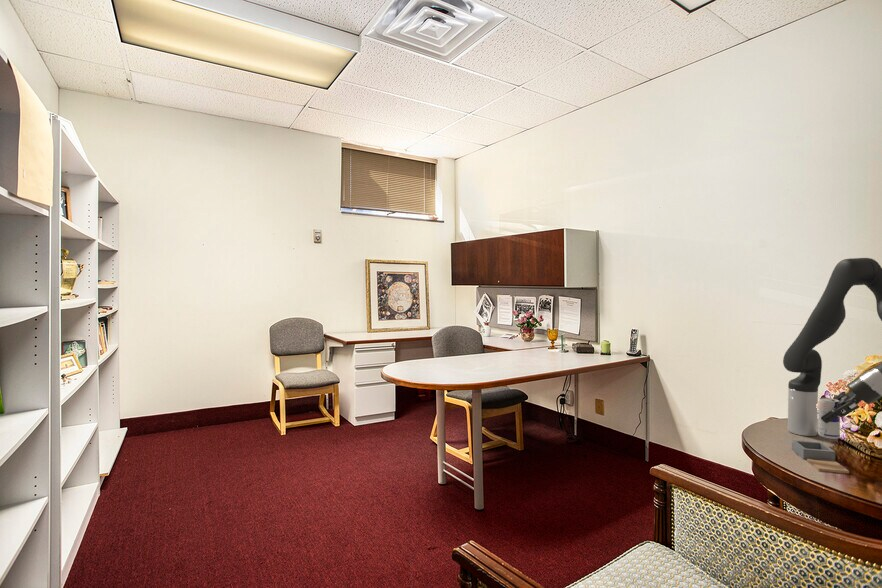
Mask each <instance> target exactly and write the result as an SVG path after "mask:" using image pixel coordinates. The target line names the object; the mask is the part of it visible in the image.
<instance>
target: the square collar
mask: <svg viewBox="0 0 882 588" xmlns="http://www.w3.org/2000/svg"><path fill="white" fill-rule="evenodd" d="M791 451H793V452H794V453H795V454H796V455H797V456H799V457H800V458H801V459H802V460H805V461H807V459H815V460H826V461H836V451H835V450H833V448H830V447H829V446H828V445H826V444H825V443H824V442H823V441H822V442H821V441H807V440H796V439H792V440H791Z"/></svg>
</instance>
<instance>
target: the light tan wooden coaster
mask: <svg viewBox="0 0 882 588" xmlns="http://www.w3.org/2000/svg"><path fill="white" fill-rule="evenodd" d="M806 461H807V462H808V464H810V465H811V466H812V467H813V468H815V469H816V470H817V471H818V472H825V473H827V472H829V473H836V474H837V473H838V474H850V471H849V470H848V469H847V468H846V467H844V466H843V465H842V464H841V463H839V462H838V461H836V460H835V461H826V460H815V459H807V460H806Z"/></svg>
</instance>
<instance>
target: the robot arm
mask: <svg viewBox="0 0 882 588" xmlns="http://www.w3.org/2000/svg"><path fill="white" fill-rule="evenodd" d="M854 286H866V288H868V289H869V290H870V291H871V293H872V294H873V295H874V298H875V303H876V312H877V315H878V317H879V319H880V322H882V266H881V265H880V263H879V262H878V261H877V260H876V259H873V258H871V257H858V258H857V257H855V258H845V259H841V260H840V261H839V262H838V263H836V265H835V267H834V268H833V270H832V271H831V275H830V277H829V280H828V281H827V285H826V287H825V289H824V291H823V293H822V295H821V296H820V298H819V299H818V302H817V304H816V305H815V307H814V309H813V310H812V312H811V314H810V315H809V317H808V319H807V321H806V322H805V324H804V326H803V328H802V329H801V331H799V334H798V336H796V338H795V340H794V341H793V342H792V344H790V346H789V347H788V348H787V350H786V351H785V353H784V356H783V357H782V364H783V366H784V368H785V369H786V371H788V372H791V373H800V374H799V375H798V376H796V377H795V378H793V379H790V380H789V381H788V385H787V387H788V388H787V390H788V393H787V394H788V395H787V396H788V397H787V401H788V402H787V431H788V432H790V433H792V434H795V435H799V436H804V437H816V436H818V410H817V408H816V404H817V403H818V401H819V386H820V385H821V382H822V381H821V379H822V369H823V368H822V367H823V360H822V356H821V355H820V353H819V352H818V351H817V350H816V349H814V348H815V347H817V346H818V345H820V344H821V343H823V342H825V341H826V340H828V339H830V338H831V337H832V336H833V335H835V334H836V333H837V332H838V330H839V329H840V327H841V325H842V324H843V323H844V321H845V319H846V316H847V315H846V314H847V312H846V306H845V298H846V295H848V293H849V291H850V290H851V288H852V287H854ZM846 387H847V388H848V389H849V390H850V391H848V392H845V391H841V392H840V393H839V394H837V395H836V396H834V397H833V398H832V399H836V400H839V402H838V403H837V404H836V407H835V408H833V409H832V410H831V411H832V412H831V411H829V412H828V413H826V414H825V415H823V416H822V417H821V419H822V420H823V421H824V422H825V423H828V422H830V421H831V420H833V419H835V418H836V417H840V418H843V417H845V416H847V415H849V414H850V413H852V412H854V411H856V410H857V409H859V408H860V406H859V405H858V404H860V402H862V401H863V402H864V403H865V404H866V405H871V404H872V403H874V402H875V401H877V400H879V399H881V398H882V362H881V363H879V364H878V365H876V366H875V367H873V368H871V369H869V370H866V371H865V372H864V373H862V374H861V375H859V376H858V377H856V378H854V379H853V380H852V381H850V382H849V383H847V384H846ZM839 410H840V411H839Z"/></svg>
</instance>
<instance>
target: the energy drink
mask: <svg viewBox="0 0 882 588" xmlns="http://www.w3.org/2000/svg"><path fill="white" fill-rule="evenodd" d="M838 402H839V400H836V399H833V398H829V397H818V418H817V435H819V436H820V437H822V438H826V439H833V440H835V439H836V440H837V439H839V438H840V437H841V436H840V435H841V433H840V432H841V427H840V426H841V417H836V418H835V419H833V420H831V421H830V422H828V423H825V422H824V421H823V420H822V419H821V417H822V416H823V415H825V414H826V413H828V412H829V411H831V410H832V409H833V408H835V407H836V404H837V403H838ZM839 411H840V412H841V410H839ZM831 412H832V411H831Z"/></svg>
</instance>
